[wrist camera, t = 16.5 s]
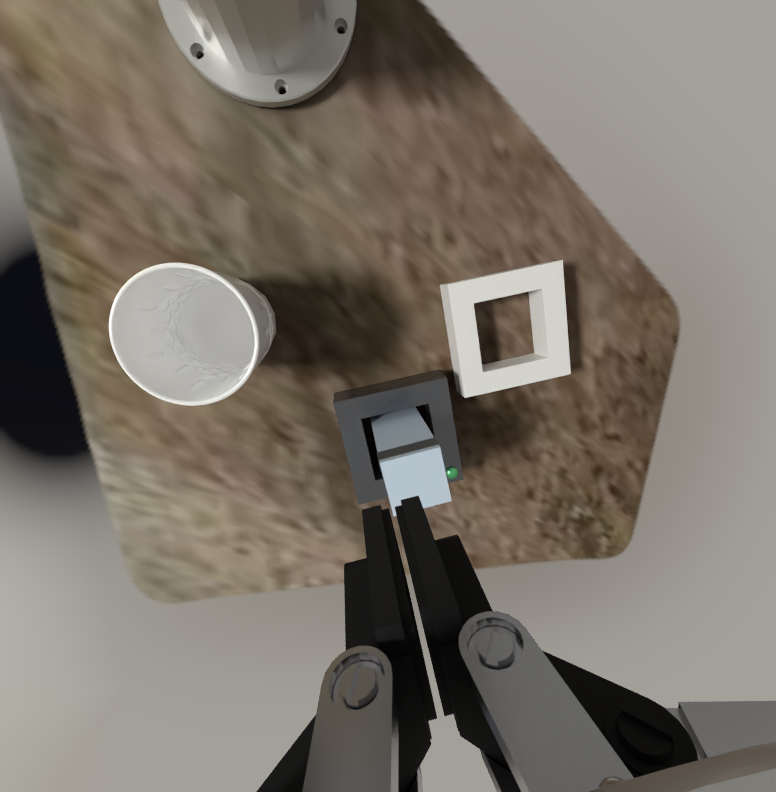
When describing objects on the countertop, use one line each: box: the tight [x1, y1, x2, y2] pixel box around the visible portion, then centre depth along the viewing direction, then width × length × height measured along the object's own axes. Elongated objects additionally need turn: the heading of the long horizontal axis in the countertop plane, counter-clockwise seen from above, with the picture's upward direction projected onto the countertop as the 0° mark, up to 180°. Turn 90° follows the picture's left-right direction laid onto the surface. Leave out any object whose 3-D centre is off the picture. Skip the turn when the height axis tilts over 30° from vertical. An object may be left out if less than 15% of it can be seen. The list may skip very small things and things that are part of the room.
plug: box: [370, 407, 451, 516], centre depth 30 cm, size 4×4×10 cm
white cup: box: [109, 263, 276, 406], centre depth 27 cm, size 8×8×10 cm
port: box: [333, 370, 463, 504], centre depth 34 cm, size 9×9×3 cm
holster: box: [440, 260, 571, 398], centre depth 33 cm, size 9×9×2 cm
